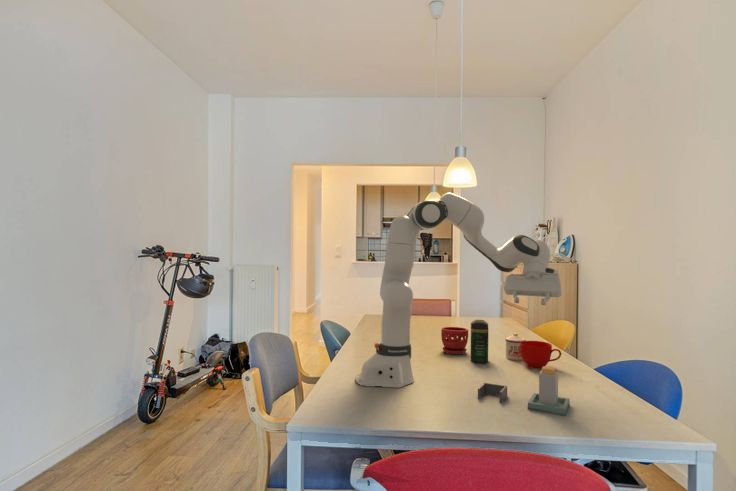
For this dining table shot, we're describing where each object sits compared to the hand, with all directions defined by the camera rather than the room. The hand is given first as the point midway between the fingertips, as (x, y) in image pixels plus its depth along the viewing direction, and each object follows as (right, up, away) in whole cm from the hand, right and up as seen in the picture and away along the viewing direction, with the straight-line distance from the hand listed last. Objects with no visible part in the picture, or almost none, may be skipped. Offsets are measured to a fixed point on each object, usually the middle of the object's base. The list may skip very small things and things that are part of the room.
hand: (529, 303), depth 160 cm
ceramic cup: (+15, -32, +29) cm, 46 cm away
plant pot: (-16, -32, +56) cm, 67 cm away
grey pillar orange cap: (-1, -30, -19) cm, 36 cm away
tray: (-1, -31, -19) cm, 36 cm away
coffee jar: (-8, -32, +40) cm, 52 cm away
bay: (-16, -31, -10) cm, 36 cm away
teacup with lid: (+12, -32, +45) cm, 56 cm away
